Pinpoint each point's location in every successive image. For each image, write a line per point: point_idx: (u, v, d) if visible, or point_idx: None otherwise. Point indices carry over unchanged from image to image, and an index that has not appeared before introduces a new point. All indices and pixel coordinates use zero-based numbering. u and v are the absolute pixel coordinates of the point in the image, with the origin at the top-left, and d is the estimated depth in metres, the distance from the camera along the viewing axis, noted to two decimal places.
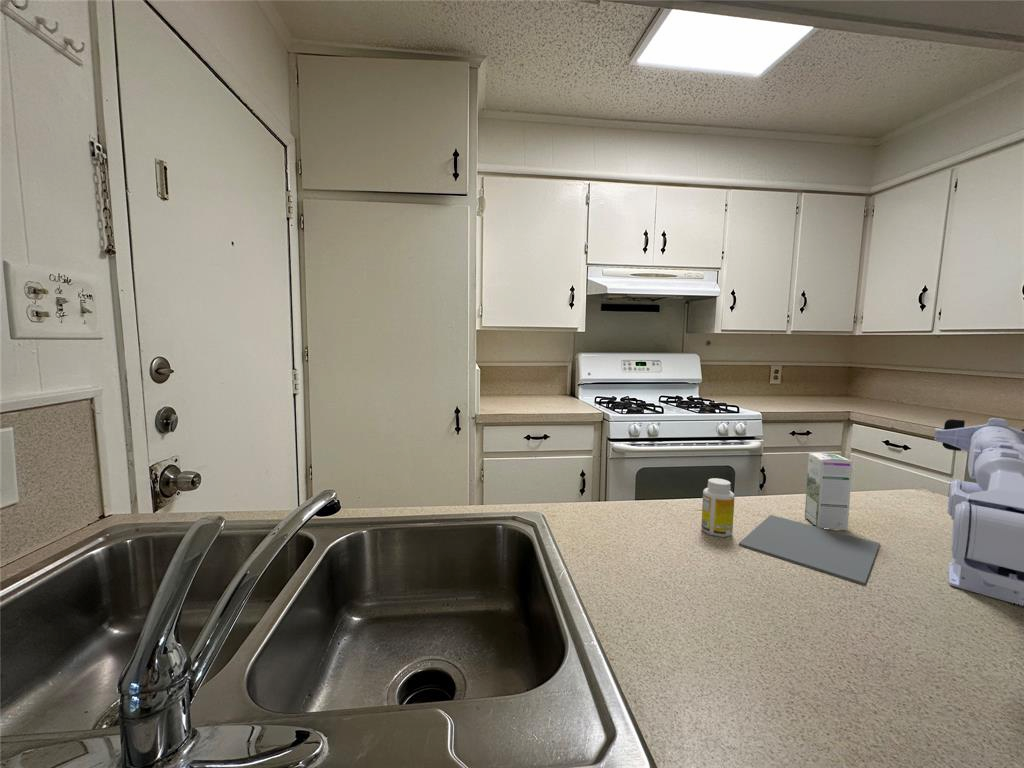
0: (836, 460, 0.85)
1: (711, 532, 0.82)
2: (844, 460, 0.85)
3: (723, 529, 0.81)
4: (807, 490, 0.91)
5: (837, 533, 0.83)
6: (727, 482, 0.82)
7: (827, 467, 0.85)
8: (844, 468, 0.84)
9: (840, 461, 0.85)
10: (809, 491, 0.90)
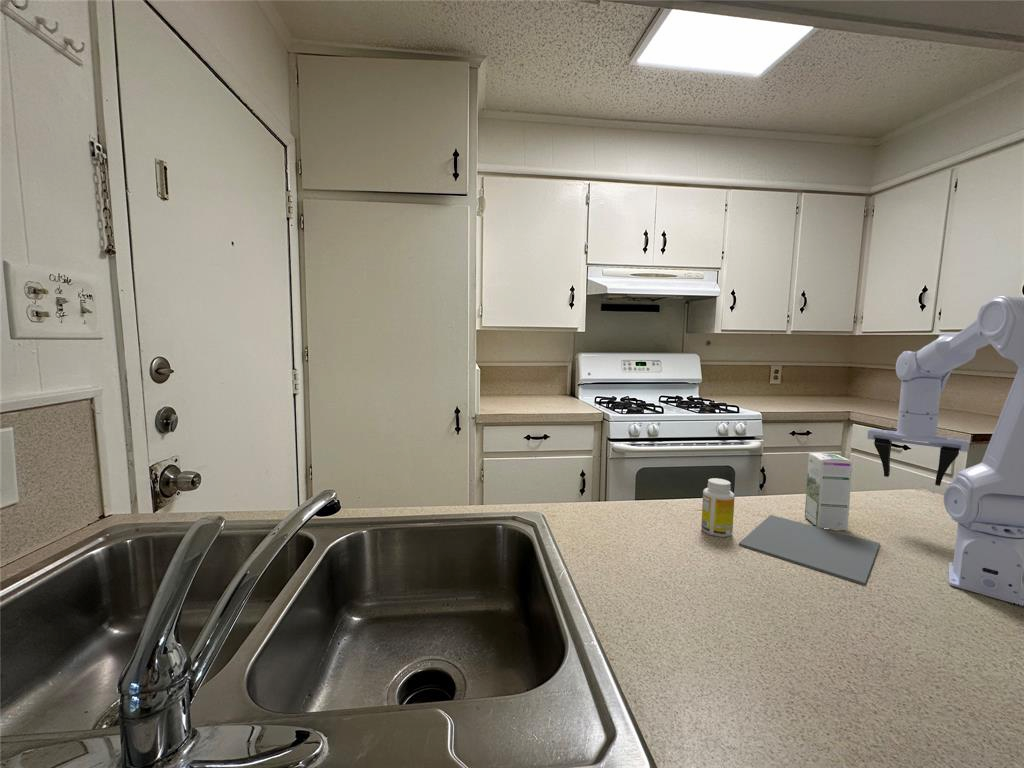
0: (836, 460, 0.85)
1: (711, 532, 0.82)
2: (844, 460, 0.85)
3: (723, 529, 0.81)
4: (807, 490, 0.91)
5: (837, 533, 0.83)
6: (727, 482, 0.82)
7: (827, 467, 0.85)
8: (844, 468, 0.84)
9: (840, 461, 0.85)
10: (809, 491, 0.90)
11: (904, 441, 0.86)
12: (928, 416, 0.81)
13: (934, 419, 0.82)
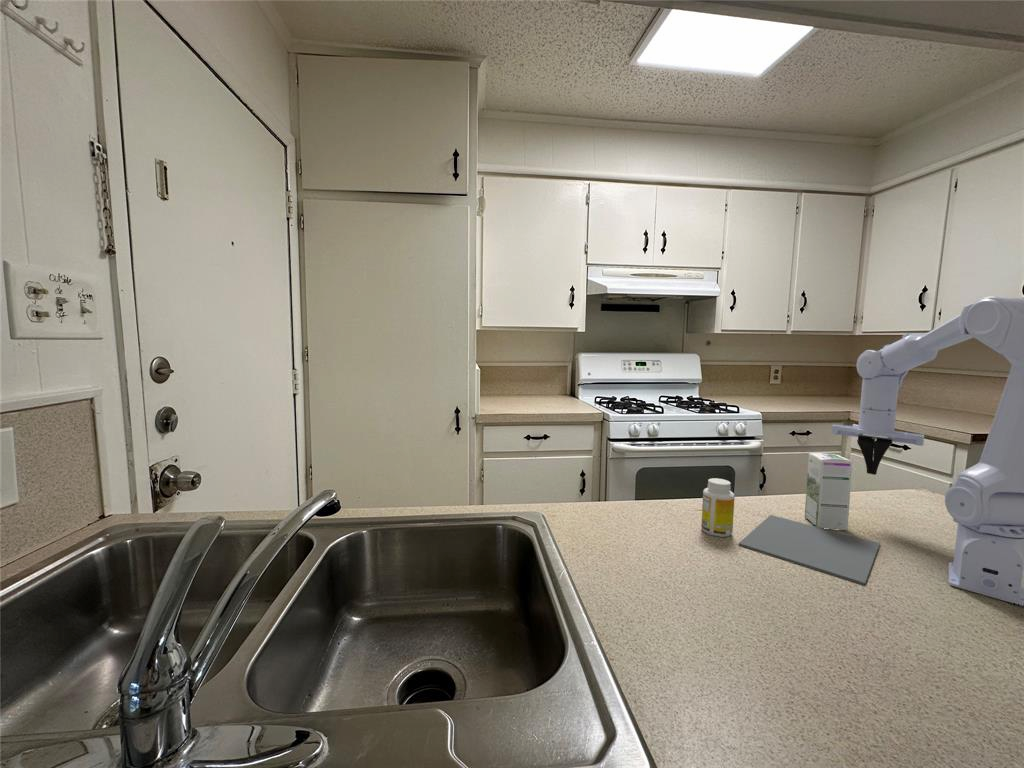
0: (836, 460, 0.85)
1: (711, 532, 0.82)
2: (844, 460, 0.85)
3: (723, 529, 0.81)
4: (807, 490, 0.91)
5: (837, 533, 0.83)
6: (728, 482, 0.82)
7: (827, 467, 0.85)
8: (844, 468, 0.84)
9: (840, 461, 0.85)
10: (809, 491, 0.90)
11: (865, 436, 0.90)
12: (886, 412, 0.85)
13: (892, 415, 0.86)
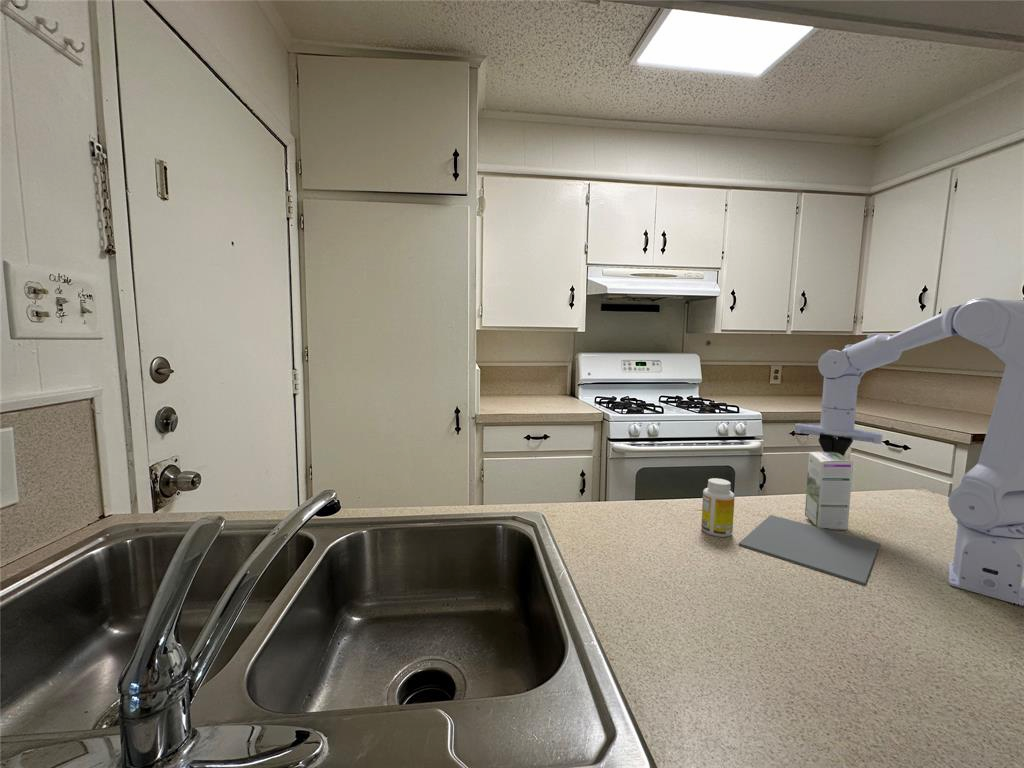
0: (836, 461, 0.83)
1: (711, 532, 0.82)
2: (844, 461, 0.83)
3: (723, 529, 0.81)
4: (807, 488, 0.90)
5: (837, 533, 0.83)
6: (727, 482, 0.82)
7: (827, 469, 0.84)
8: (844, 469, 0.83)
9: (840, 462, 0.83)
10: (809, 490, 0.89)
11: (826, 435, 0.91)
12: (845, 411, 0.87)
13: (851, 414, 0.87)
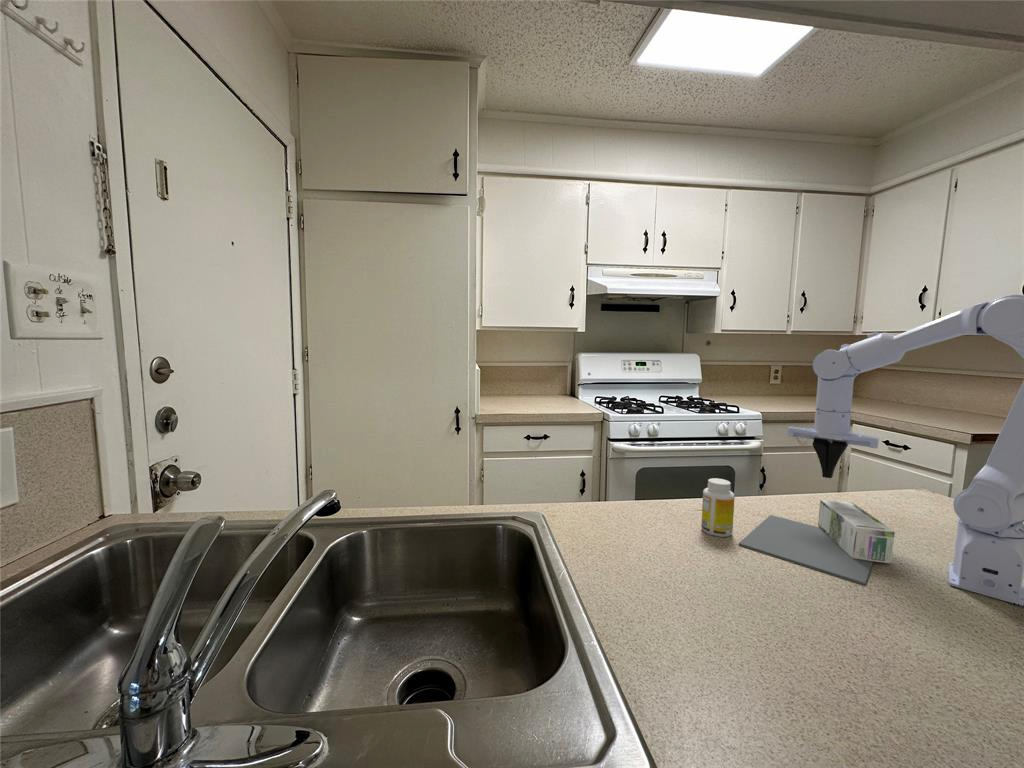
0: (871, 560, 0.72)
1: (711, 532, 0.82)
2: (882, 561, 0.72)
3: (723, 529, 0.81)
4: (834, 513, 0.80)
5: None
6: (727, 482, 0.82)
7: None
8: None
9: None
10: (833, 519, 0.80)
11: (820, 438, 0.87)
12: (840, 414, 0.83)
13: (846, 416, 0.83)
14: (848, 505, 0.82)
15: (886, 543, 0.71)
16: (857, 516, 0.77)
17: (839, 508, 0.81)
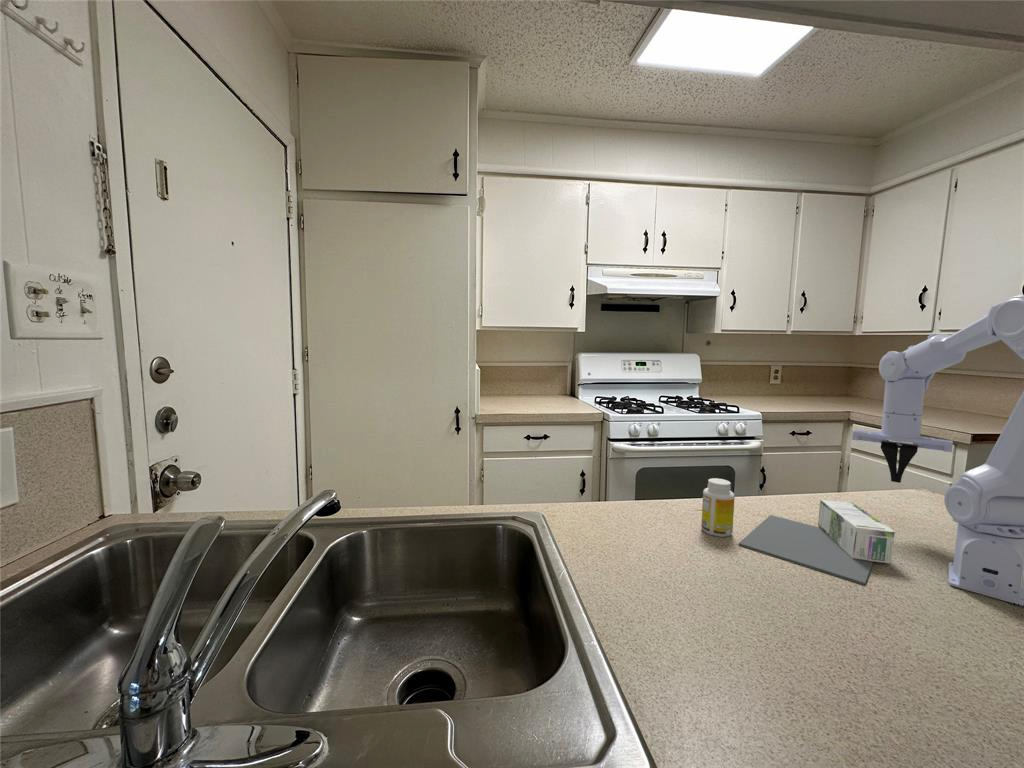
0: (871, 560, 0.72)
1: (711, 532, 0.82)
2: (882, 561, 0.72)
3: (723, 529, 0.81)
4: (834, 513, 0.80)
5: None
6: (728, 482, 0.82)
7: None
8: None
9: None
10: (833, 519, 0.80)
11: (888, 442, 0.85)
12: (912, 417, 0.81)
13: (918, 420, 0.81)
14: (848, 505, 0.82)
15: (886, 543, 0.71)
16: (857, 516, 0.77)
17: (839, 508, 0.81)
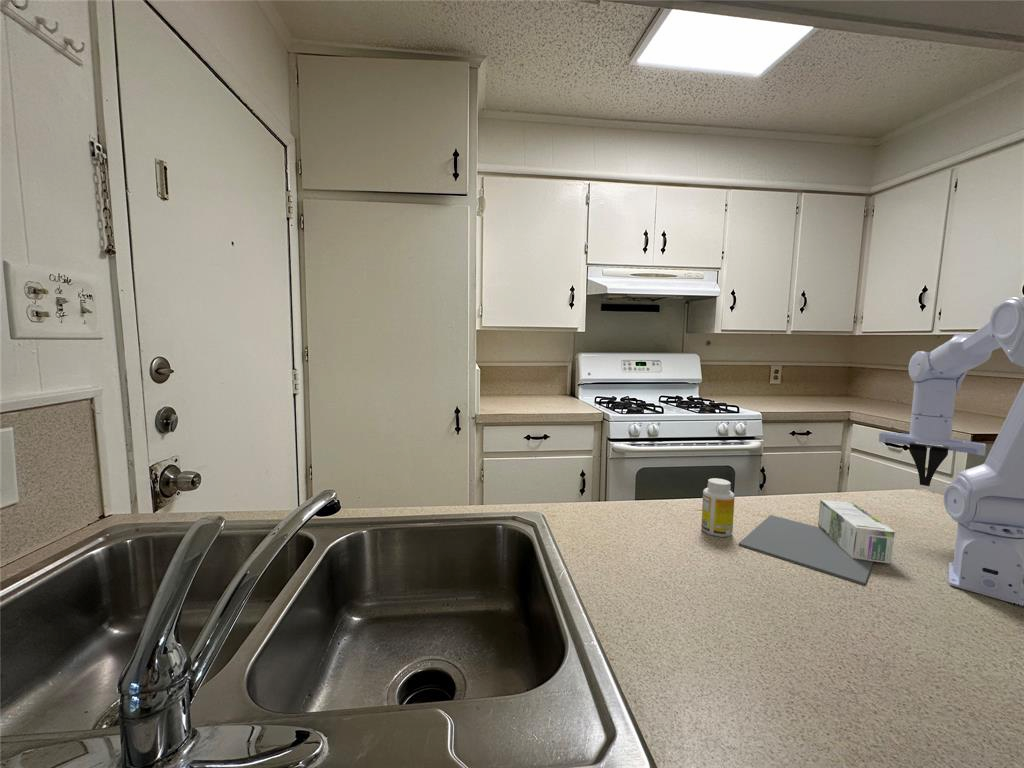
0: (871, 560, 0.72)
1: (711, 532, 0.82)
2: (882, 561, 0.72)
3: (723, 529, 0.81)
4: (834, 513, 0.80)
5: None
6: (727, 482, 0.82)
7: None
8: None
9: None
10: (833, 519, 0.80)
11: (917, 444, 0.83)
12: (943, 418, 0.79)
13: (949, 422, 0.79)
14: (848, 505, 0.82)
15: (886, 543, 0.71)
16: (857, 516, 0.77)
17: (839, 508, 0.81)
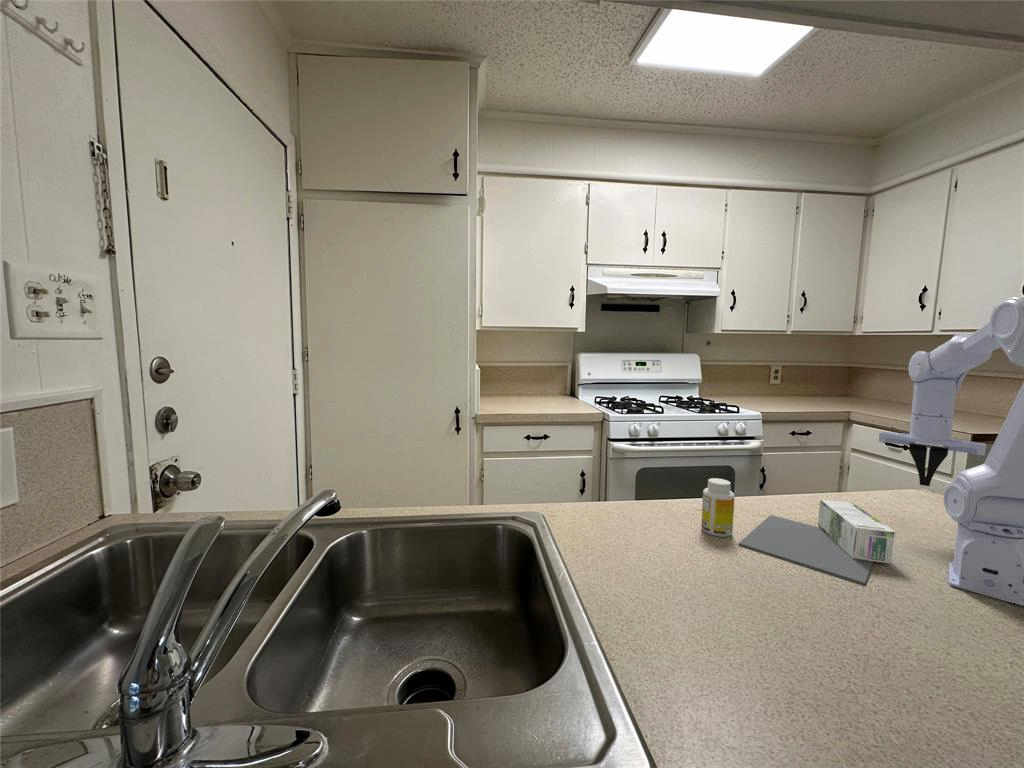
0: (871, 560, 0.72)
1: (711, 532, 0.82)
2: (882, 561, 0.72)
3: (723, 529, 0.81)
4: (834, 513, 0.80)
5: None
6: (727, 482, 0.82)
7: None
8: None
9: None
10: (833, 519, 0.80)
11: (917, 444, 0.83)
12: (943, 418, 0.79)
13: (949, 422, 0.79)
14: (848, 505, 0.82)
15: (886, 543, 0.71)
16: (857, 516, 0.77)
17: (839, 508, 0.81)
